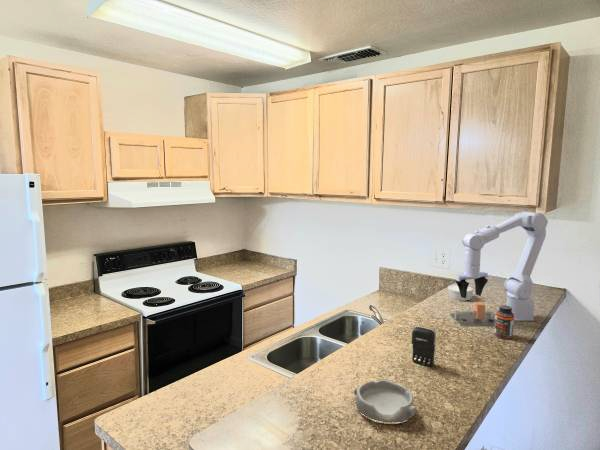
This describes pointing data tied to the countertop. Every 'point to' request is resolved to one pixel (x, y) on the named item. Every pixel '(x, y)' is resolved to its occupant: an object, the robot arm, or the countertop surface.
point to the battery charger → (423, 345)
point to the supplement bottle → (504, 322)
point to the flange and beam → (473, 318)
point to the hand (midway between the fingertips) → (470, 296)
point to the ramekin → (455, 293)
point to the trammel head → (479, 310)
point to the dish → (385, 401)
